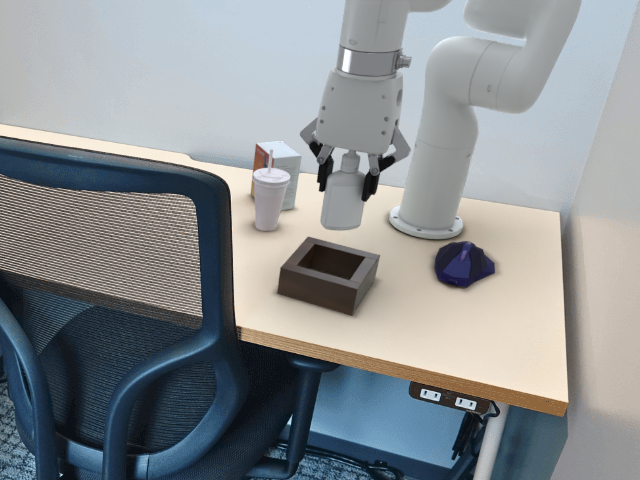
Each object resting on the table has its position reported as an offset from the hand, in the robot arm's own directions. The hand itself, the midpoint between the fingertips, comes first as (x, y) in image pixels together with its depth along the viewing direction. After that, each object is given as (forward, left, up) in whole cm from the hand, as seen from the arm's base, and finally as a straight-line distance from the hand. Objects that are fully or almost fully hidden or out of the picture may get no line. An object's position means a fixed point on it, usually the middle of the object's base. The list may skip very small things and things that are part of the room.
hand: (345, 191), depth 98 cm
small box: (-24, -19, -16) cm, 34 cm away
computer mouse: (-17, +17, -16) cm, 28 cm away
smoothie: (-14, -16, -16) cm, 26 cm away
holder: (0, 0, -15) cm, 15 cm away
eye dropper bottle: (0, 0, -5) cm, 5 cm away
